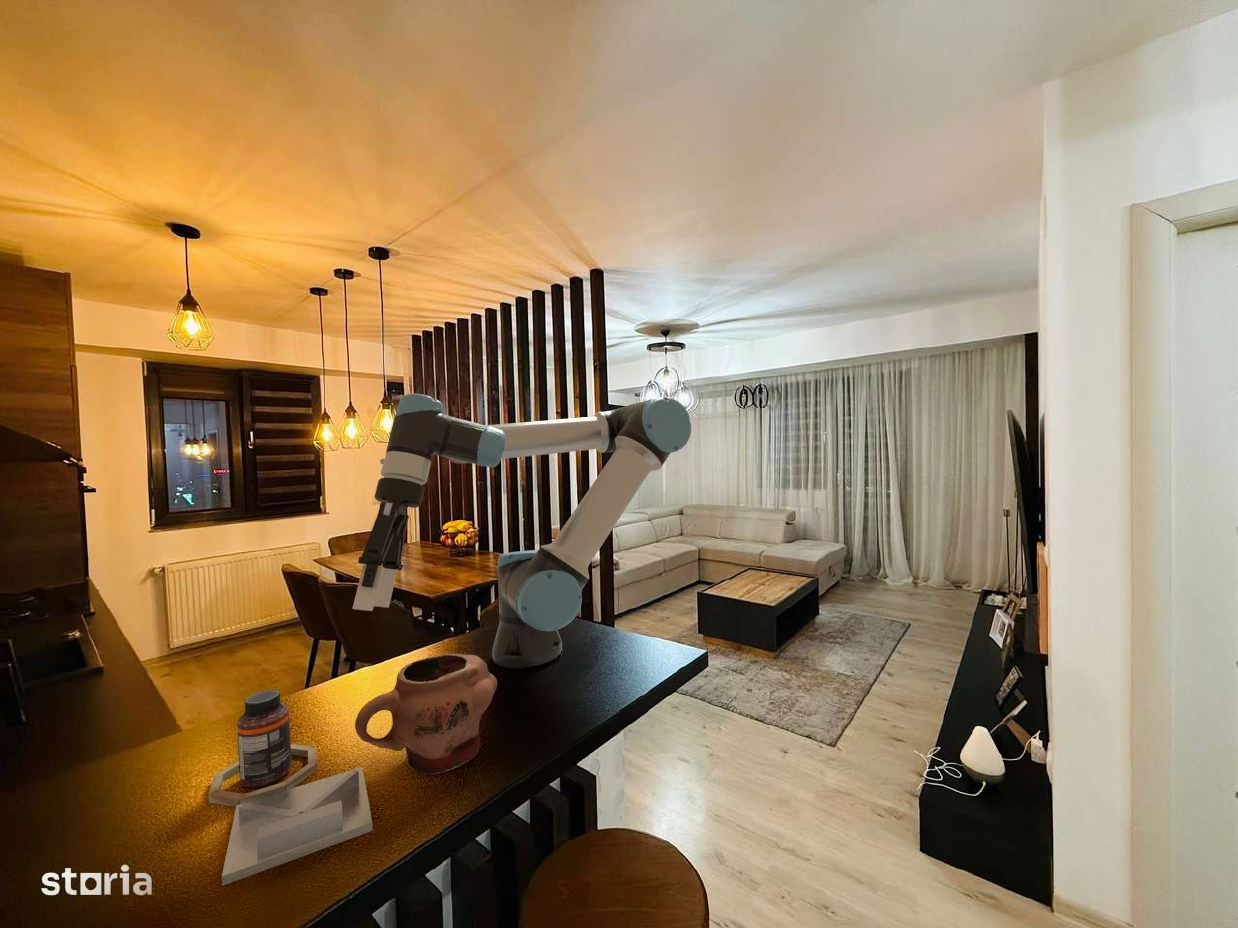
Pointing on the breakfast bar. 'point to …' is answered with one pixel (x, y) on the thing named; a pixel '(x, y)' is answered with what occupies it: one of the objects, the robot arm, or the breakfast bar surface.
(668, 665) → the breakfast bar surface
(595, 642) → the breakfast bar surface
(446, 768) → the sculpted ceramic mug
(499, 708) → the breakfast bar surface
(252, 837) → the v-block
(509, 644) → the robot arm
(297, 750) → the wooden collar
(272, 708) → the supplement bottle
